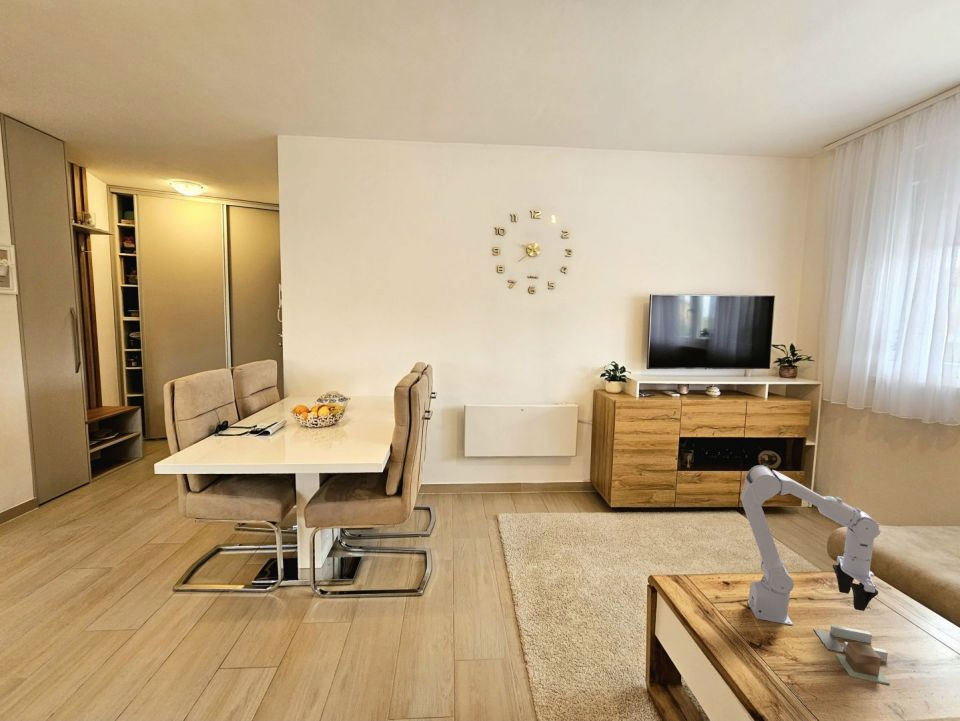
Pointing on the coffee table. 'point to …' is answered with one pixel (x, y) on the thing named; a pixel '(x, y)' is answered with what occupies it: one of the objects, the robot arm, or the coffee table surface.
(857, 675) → the pad
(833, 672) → the coffee table surface
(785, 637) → the coffee table surface
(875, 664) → the block
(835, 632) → the channel
